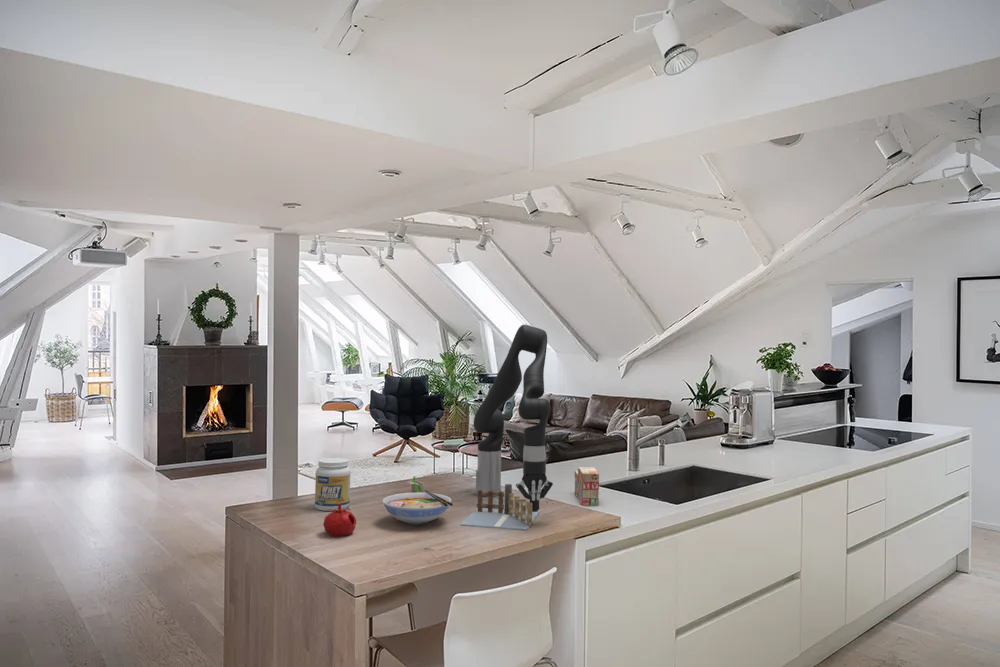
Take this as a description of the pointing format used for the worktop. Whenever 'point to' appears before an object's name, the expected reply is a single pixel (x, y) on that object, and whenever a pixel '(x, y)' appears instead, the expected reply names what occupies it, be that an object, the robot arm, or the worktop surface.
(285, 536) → the worktop surface
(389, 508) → the ramen bowl
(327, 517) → the pomegranate
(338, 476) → the supplement tub
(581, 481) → the stack of blocks
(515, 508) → the hinged fence panel
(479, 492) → the fixed fence
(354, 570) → the worktop surface
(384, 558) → the worktop surface
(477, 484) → the robot arm
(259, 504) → the worktop surface
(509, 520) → the card
